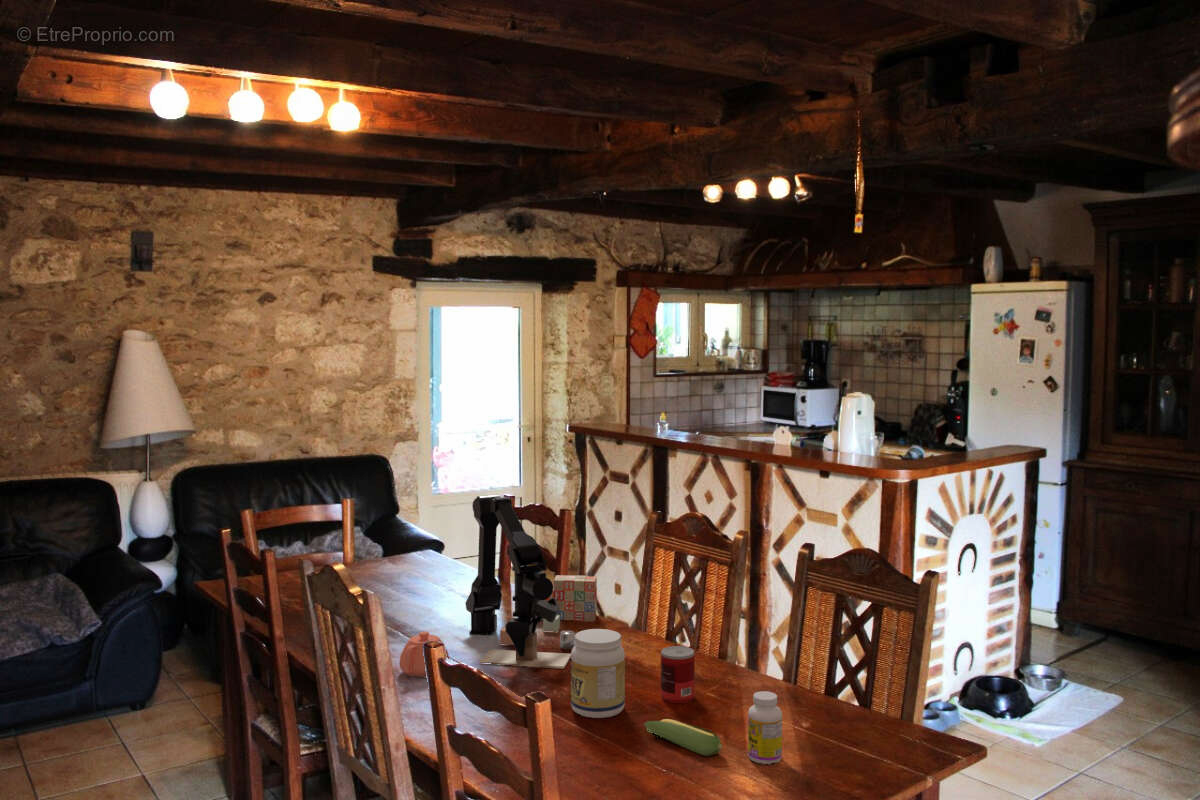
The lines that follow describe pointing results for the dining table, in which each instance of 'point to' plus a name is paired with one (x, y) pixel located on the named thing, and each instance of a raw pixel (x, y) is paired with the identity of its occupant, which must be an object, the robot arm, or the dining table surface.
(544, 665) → the oak board
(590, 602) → the stack of blocks
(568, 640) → the metal tin
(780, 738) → the supplement bottle
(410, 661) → the terracotta lidded pot
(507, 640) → the terracotta cube
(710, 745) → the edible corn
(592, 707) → the supplement tub
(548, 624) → the sage green block
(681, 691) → the canned food
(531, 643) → the walnut block
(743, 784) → the dining table surface
